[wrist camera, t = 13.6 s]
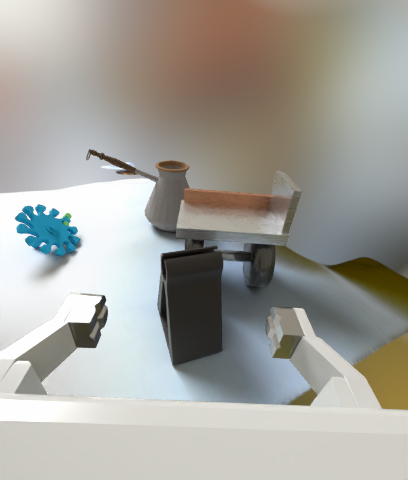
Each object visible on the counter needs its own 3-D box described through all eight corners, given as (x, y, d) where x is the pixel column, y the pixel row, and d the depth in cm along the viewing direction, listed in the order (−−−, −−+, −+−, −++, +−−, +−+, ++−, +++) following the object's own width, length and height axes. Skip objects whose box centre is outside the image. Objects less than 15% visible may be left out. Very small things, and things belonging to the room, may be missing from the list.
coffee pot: (195, 211, 59) (199, 148, 51) (200, 237, 50) (206, 164, 42) (104, 210, 56) (93, 142, 48) (91, 236, 47) (74, 157, 38)
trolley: (173, 294, 36) (176, 187, 27) (179, 252, 44) (182, 162, 35) (273, 300, 36) (308, 198, 27) (259, 258, 45) (282, 170, 36)
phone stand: (221, 352, 29) (238, 276, 22) (172, 367, 27) (174, 288, 20) (197, 297, 36) (204, 227, 29) (157, 306, 34) (155, 233, 27)
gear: (58, 261, 37) (2, 213, 34) (37, 280, 39) (-17, 236, 36) (94, 233, 47) (53, 194, 44) (76, 250, 49) (36, 213, 46)
